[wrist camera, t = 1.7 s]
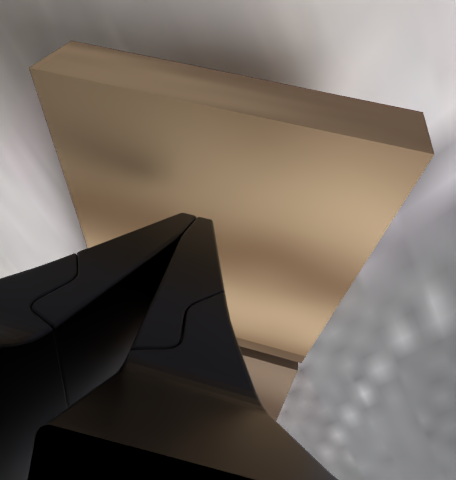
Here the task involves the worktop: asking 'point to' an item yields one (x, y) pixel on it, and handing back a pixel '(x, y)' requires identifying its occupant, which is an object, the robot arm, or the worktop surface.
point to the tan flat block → (270, 378)
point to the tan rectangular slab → (235, 176)
